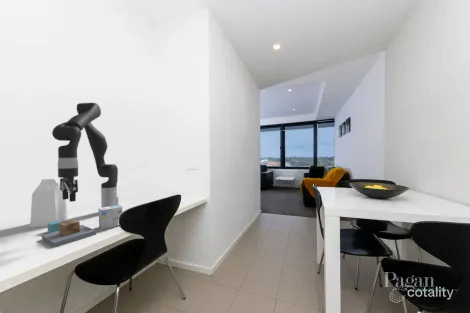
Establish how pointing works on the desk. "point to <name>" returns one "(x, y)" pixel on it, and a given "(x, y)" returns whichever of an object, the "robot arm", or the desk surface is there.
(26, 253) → the desk surface
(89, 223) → the desk surface
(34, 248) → the desk surface
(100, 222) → the light bulb box
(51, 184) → the milk
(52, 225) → the teal block
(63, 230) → the walnut block
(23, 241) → the desk surface
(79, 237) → the slate gray board
